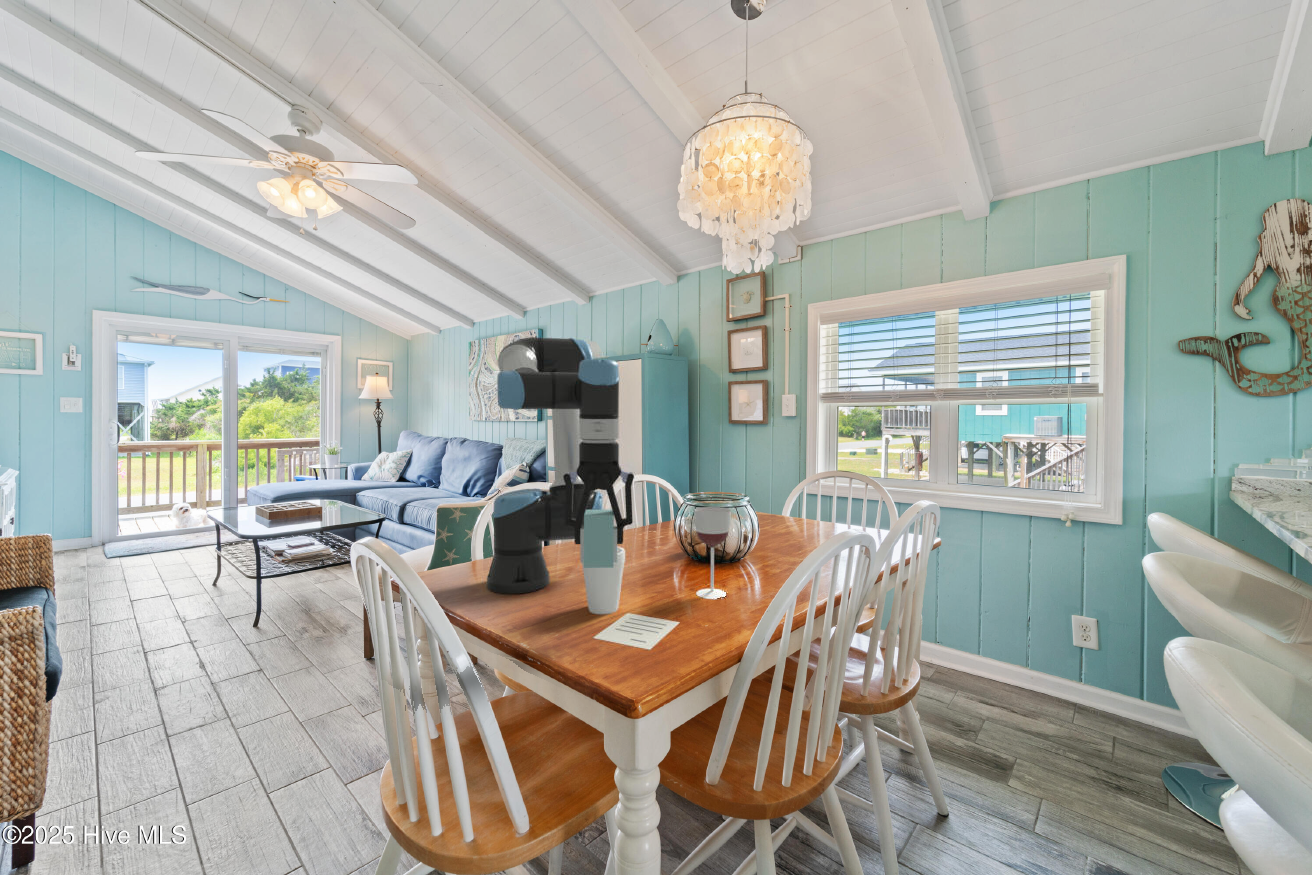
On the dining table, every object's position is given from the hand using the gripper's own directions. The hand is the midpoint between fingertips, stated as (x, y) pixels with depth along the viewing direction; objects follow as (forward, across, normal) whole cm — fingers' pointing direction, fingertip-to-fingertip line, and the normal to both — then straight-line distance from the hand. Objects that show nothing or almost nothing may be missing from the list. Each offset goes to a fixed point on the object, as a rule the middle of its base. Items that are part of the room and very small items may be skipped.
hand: (599, 560), depth 105 cm
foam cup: (+15, 0, +12) cm, 19 cm away
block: (+1, 0, 0) cm, 1 cm away
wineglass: (+15, +26, +21) cm, 36 cm away
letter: (+14, +8, 0) cm, 16 cm away
